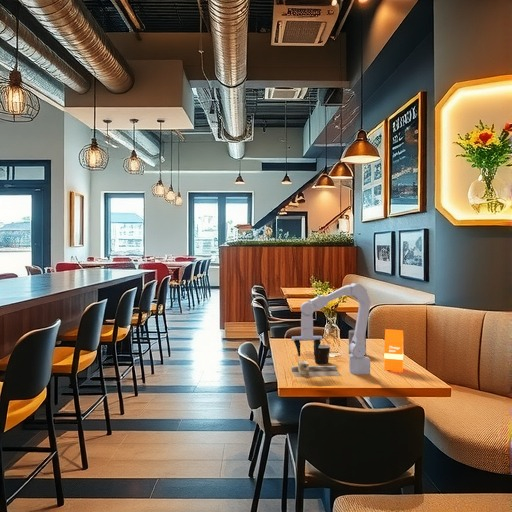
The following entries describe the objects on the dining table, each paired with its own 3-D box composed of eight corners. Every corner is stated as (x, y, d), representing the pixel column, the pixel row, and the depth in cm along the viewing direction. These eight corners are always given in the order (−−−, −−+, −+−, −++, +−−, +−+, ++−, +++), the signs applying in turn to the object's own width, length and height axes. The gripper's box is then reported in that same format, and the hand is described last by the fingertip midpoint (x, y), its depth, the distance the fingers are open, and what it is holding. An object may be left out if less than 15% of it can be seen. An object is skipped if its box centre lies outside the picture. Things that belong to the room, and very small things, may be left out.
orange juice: (402, 371, 225) (402, 331, 225) (384, 370, 228) (384, 330, 228) (403, 368, 233) (403, 329, 232) (385, 366, 236) (385, 328, 235)
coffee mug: (320, 362, 244) (320, 343, 244) (333, 365, 238) (333, 346, 238) (306, 366, 236) (306, 347, 236) (319, 369, 230) (319, 349, 229)
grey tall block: (360, 352, 269) (359, 326, 269) (369, 355, 260) (369, 329, 259) (345, 353, 266) (345, 328, 266) (354, 357, 256) (354, 330, 256)
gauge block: (306, 371, 220) (306, 360, 220) (309, 375, 212) (309, 364, 212) (298, 371, 220) (298, 360, 220) (301, 375, 212) (301, 365, 212)
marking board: (335, 372, 224) (335, 365, 224) (341, 379, 212) (341, 372, 212) (291, 373, 222) (291, 366, 222) (295, 380, 210) (295, 372, 210)
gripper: (320, 325, 223) (320, 353, 223) (290, 326, 222) (290, 354, 222) (323, 328, 216) (323, 356, 216) (293, 328, 215) (293, 357, 215)
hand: (307, 355), depth 218 cm, fingers open, 7 cm apart
